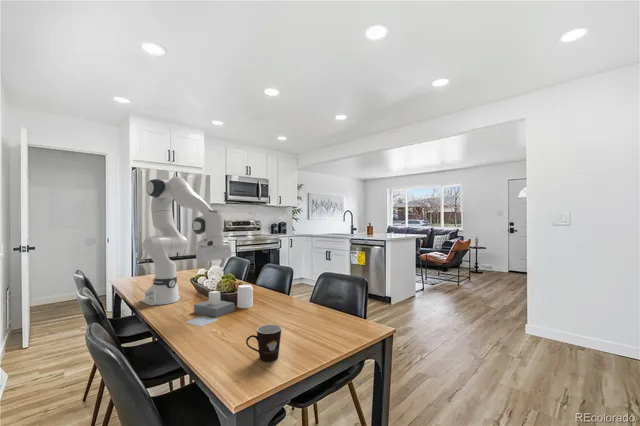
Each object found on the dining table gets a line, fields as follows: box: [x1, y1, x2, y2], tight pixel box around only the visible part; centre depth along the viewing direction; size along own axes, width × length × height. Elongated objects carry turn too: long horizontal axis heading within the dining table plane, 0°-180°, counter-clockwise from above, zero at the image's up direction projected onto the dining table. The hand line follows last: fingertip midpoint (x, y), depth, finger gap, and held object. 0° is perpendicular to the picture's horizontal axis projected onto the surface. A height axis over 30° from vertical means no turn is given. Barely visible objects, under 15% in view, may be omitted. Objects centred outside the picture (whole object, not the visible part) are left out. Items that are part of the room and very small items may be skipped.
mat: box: [185, 315, 219, 327], centre depth 139 cm, size 11×10×1 cm
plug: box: [208, 290, 221, 305], centre depth 153 cm, size 4×4×10 cm
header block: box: [193, 299, 235, 318], centre depth 153 cm, size 16×12×5 cm
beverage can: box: [237, 284, 254, 309], centre depth 163 cm, size 8×8×12 cm
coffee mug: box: [245, 324, 282, 363], centre depth 104 cm, size 12×9×10 cm
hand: (214, 268), depth 153 cm, fingers open, 8 cm apart
